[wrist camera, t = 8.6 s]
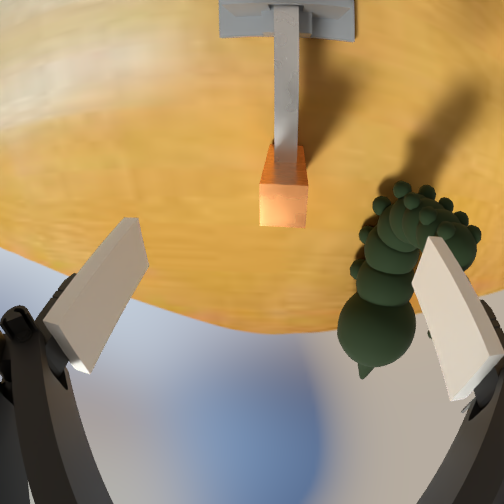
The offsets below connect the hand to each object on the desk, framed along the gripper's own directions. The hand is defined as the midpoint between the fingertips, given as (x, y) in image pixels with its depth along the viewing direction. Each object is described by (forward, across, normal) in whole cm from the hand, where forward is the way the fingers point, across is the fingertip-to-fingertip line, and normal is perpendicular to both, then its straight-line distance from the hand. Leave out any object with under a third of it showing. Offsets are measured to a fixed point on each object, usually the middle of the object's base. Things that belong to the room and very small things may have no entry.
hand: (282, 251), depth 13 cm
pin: (+18, 0, +5) cm, 19 cm away
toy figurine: (+19, +12, -13) cm, 26 cm away
